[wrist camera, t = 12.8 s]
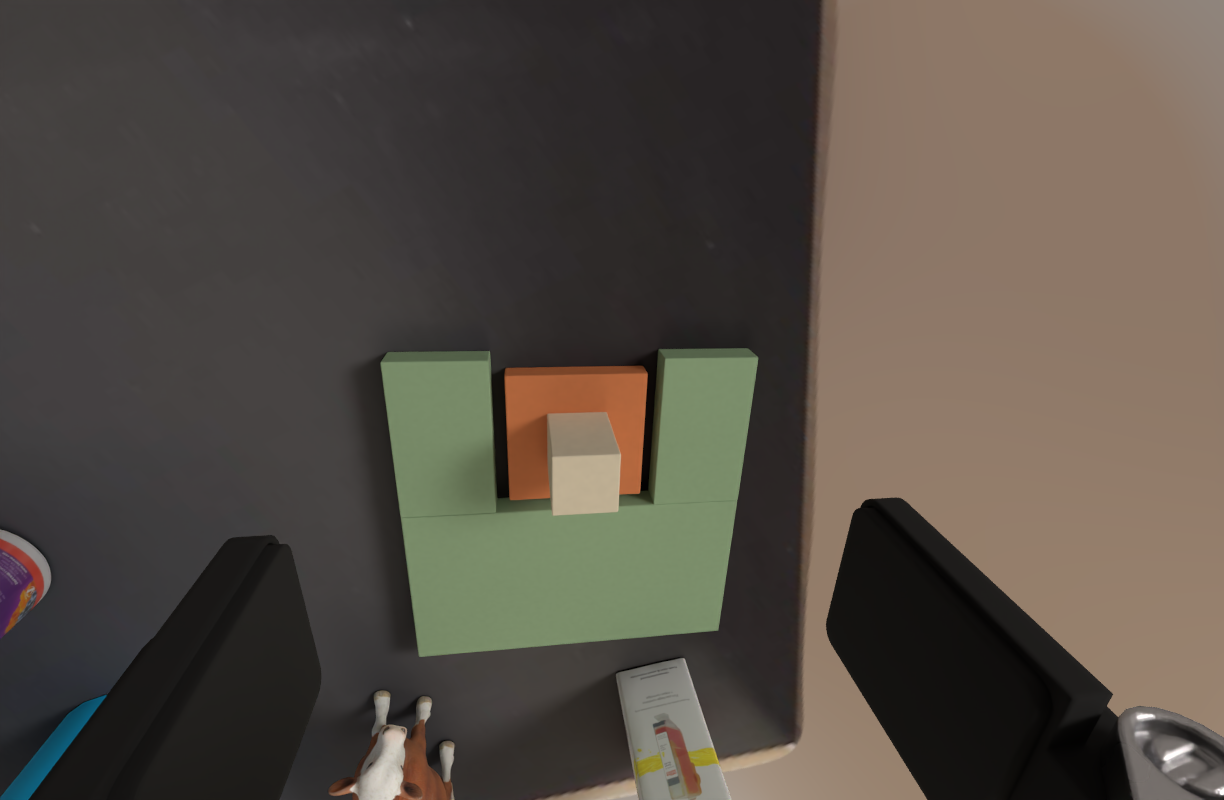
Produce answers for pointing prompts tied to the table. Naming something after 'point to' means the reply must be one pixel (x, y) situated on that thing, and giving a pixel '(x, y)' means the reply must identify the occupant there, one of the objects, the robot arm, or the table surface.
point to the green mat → (564, 544)
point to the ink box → (668, 735)
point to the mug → (50, 751)
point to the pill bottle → (20, 579)
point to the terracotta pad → (571, 397)
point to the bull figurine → (399, 761)
